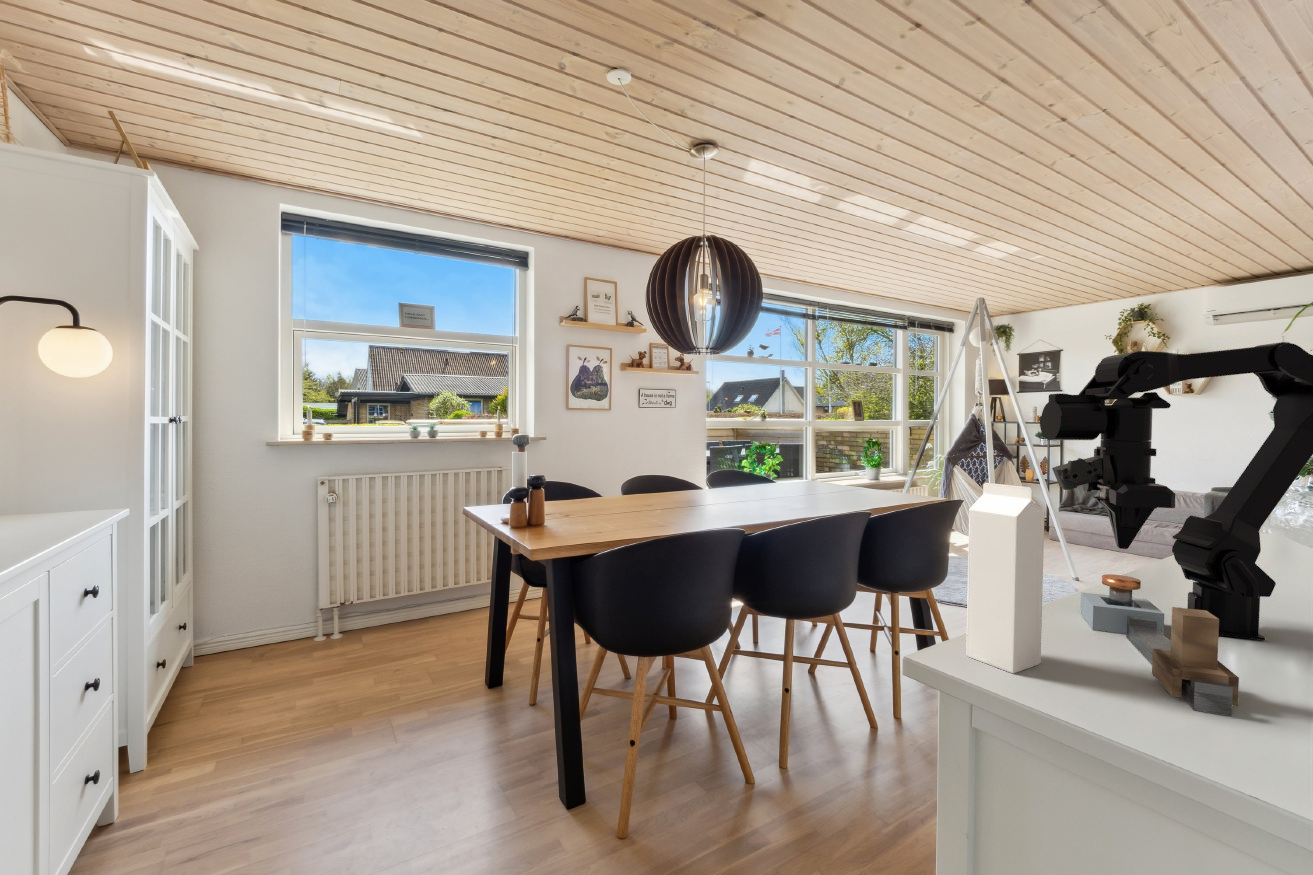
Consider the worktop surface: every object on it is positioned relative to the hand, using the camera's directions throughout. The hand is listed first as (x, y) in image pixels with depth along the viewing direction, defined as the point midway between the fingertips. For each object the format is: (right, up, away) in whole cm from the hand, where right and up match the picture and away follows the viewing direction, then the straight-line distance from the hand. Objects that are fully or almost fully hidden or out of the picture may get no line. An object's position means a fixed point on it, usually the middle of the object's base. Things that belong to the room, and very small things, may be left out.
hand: (1122, 548), depth 85 cm
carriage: (-8, -12, -20) cm, 25 cm away
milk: (-24, -12, -11) cm, 29 cm away
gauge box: (0, -11, 0) cm, 11 cm away
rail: (-6, -12, -15) cm, 20 cm away
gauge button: (0, -9, 0) cm, 9 cm away
